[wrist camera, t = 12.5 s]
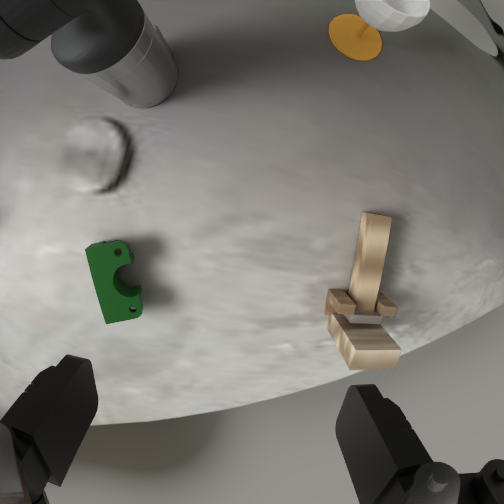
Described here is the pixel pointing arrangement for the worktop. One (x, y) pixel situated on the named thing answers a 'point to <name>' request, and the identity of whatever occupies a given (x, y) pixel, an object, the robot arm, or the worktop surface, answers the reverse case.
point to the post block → (361, 333)
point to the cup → (374, 25)
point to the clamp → (113, 281)
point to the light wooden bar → (369, 267)
